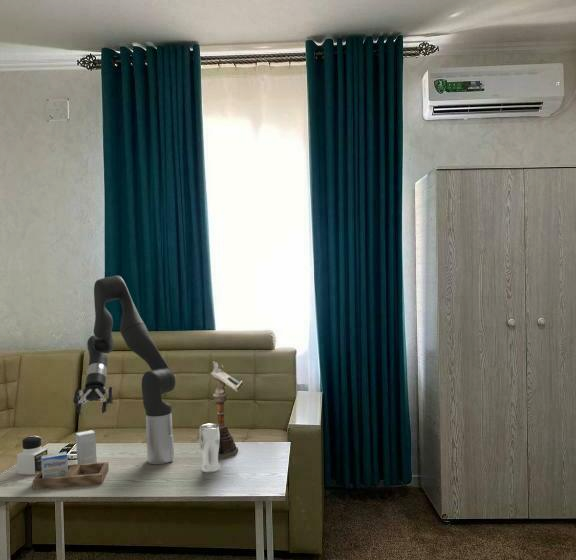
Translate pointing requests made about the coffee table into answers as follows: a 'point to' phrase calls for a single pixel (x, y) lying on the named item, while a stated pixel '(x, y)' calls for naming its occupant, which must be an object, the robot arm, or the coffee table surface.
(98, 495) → the coffee table surface
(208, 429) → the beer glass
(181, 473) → the coffee table surface
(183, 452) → the coffee table surface
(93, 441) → the skincare box
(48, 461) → the medicine box
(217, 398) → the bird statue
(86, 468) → the walnut pocket rack
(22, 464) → the medicine bottle
